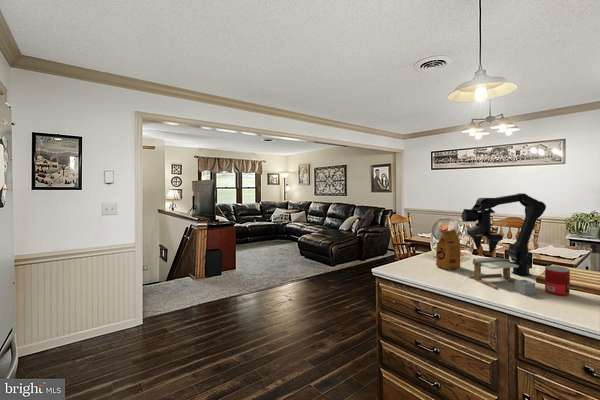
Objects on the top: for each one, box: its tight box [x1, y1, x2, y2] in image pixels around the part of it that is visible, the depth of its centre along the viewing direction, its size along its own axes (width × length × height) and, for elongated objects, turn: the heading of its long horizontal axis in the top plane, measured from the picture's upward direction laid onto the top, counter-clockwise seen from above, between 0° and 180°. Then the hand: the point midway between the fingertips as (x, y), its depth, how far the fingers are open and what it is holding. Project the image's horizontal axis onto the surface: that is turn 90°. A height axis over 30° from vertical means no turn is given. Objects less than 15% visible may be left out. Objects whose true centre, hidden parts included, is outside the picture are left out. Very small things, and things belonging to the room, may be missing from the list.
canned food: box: [544, 265, 571, 297], centre depth 125 cm, size 8×8×11 cm
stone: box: [514, 279, 536, 296], centre depth 126 cm, size 5×5×5 cm
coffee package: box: [435, 228, 461, 271], centre depth 169 cm, size 10×12×22 cm
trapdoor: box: [472, 256, 519, 270], centre depth 143 cm, size 12×14×3 cm
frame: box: [469, 258, 518, 290], centre depth 141 cm, size 17×18×10 cm
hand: (484, 250), depth 154 cm, fingers open, 9 cm apart
